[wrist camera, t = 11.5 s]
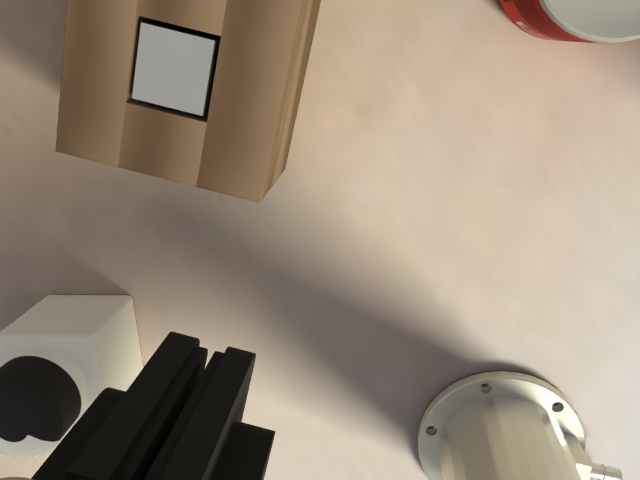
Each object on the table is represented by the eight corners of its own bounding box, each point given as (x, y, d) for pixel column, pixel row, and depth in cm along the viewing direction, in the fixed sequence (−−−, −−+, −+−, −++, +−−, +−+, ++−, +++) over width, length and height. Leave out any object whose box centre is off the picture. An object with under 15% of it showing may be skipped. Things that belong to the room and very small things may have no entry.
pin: (247, 38, 39) (214, 40, 32) (236, 100, 41) (202, 115, 33) (188, 24, 39) (140, 22, 32) (179, 86, 41) (131, 98, 33)
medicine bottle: (46, 293, 48) (-58, 373, 37) (133, 293, 47) (53, 375, 36) (62, 372, 50) (-32, 470, 39) (145, 374, 50) (74, 474, 38)
